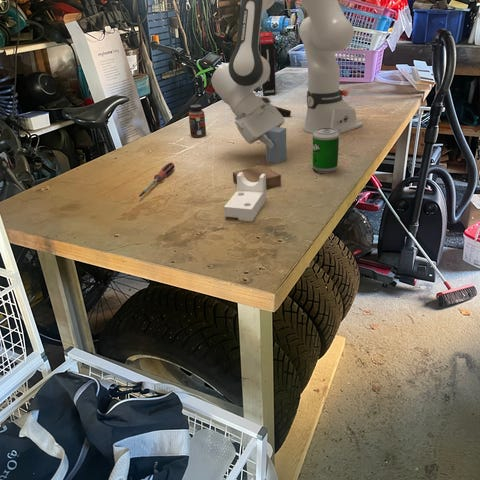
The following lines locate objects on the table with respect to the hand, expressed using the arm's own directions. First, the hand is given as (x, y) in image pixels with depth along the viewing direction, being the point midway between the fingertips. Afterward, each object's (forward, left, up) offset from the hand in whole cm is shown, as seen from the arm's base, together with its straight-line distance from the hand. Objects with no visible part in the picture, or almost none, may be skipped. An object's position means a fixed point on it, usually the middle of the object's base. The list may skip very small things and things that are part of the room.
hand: (278, 143), depth 150 cm
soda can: (-7, +15, -6) cm, 18 cm away
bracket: (+26, +25, -6) cm, 37 cm away
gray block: (0, -1, -5) cm, 5 cm away
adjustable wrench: (-25, -51, -6) cm, 57 cm away
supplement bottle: (+9, -42, -6) cm, 43 cm away
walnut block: (+15, +12, -5) cm, 20 cm away
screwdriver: (+39, -5, -6) cm, 40 cm away
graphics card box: (-50, -87, -6) cm, 100 cm away
